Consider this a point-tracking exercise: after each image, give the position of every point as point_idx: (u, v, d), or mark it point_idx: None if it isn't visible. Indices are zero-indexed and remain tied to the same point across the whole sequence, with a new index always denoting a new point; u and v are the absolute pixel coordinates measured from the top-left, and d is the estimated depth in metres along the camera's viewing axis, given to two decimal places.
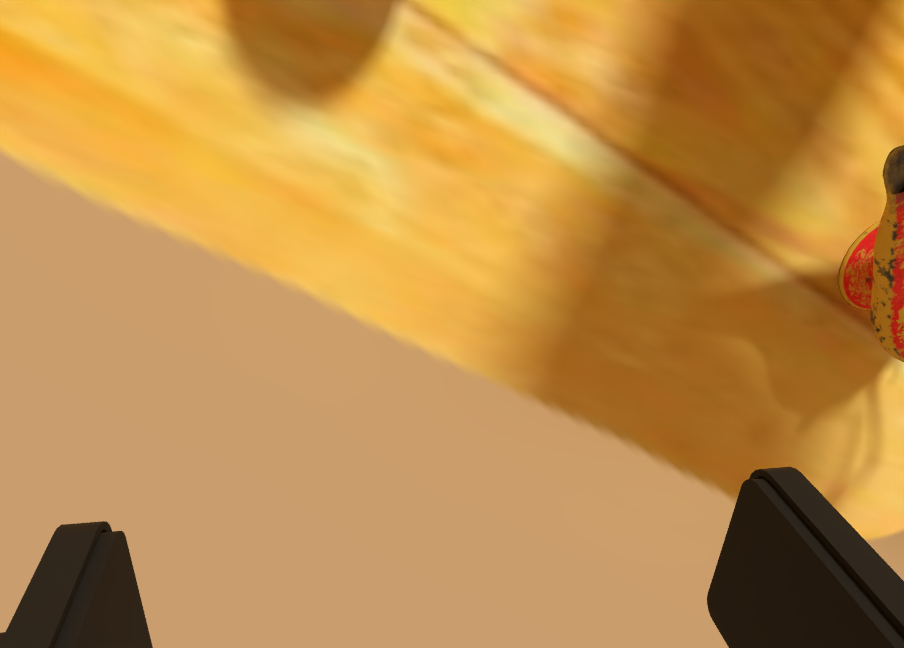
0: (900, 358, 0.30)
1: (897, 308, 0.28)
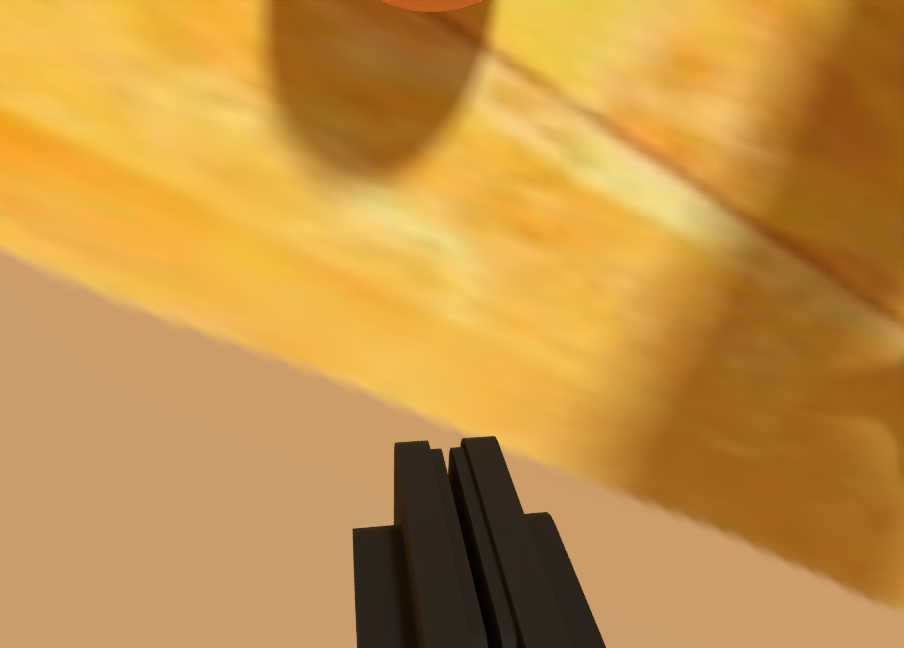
0: None
1: None
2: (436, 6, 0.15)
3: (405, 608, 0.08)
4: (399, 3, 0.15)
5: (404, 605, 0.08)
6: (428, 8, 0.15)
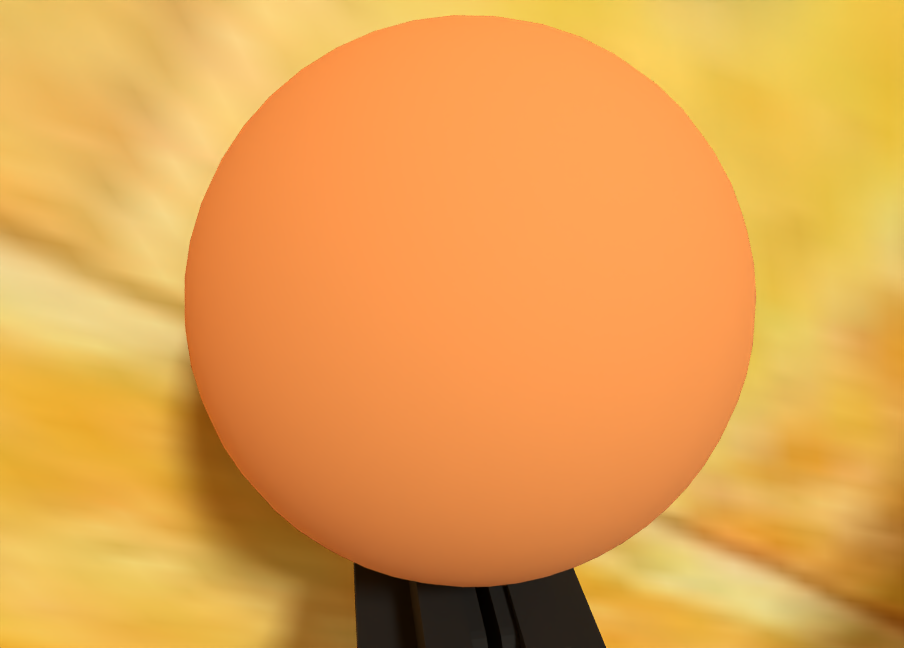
0: None
1: None
2: None
3: (405, 608, 0.08)
4: None
5: (404, 605, 0.08)
6: None
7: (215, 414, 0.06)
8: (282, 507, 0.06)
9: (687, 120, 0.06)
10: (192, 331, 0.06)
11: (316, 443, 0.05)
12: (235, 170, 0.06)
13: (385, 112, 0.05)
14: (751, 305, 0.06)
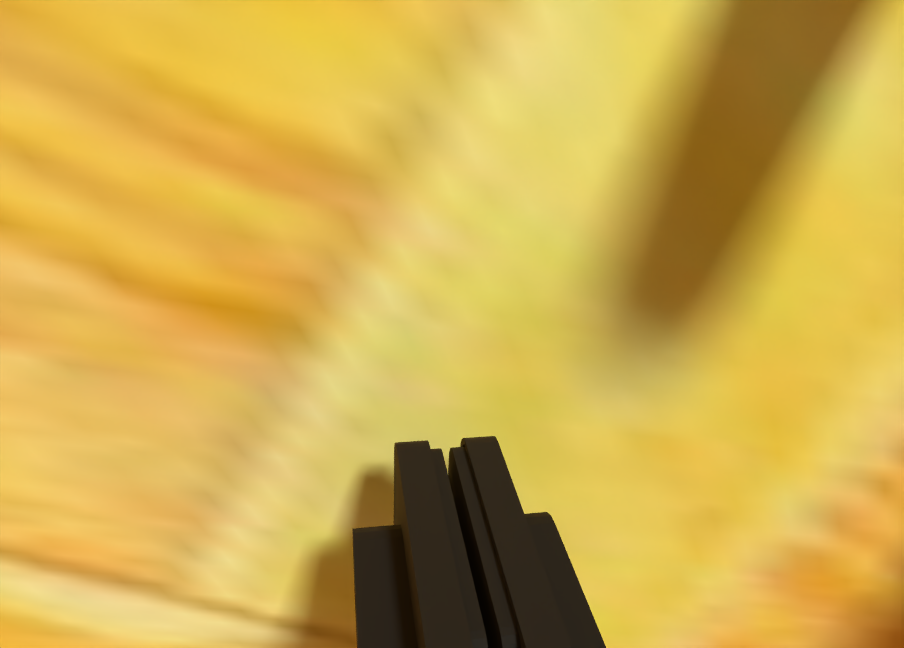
0: None
1: None
2: None
3: (405, 608, 0.08)
4: None
5: (404, 605, 0.08)
6: None
7: None
8: None
9: None
10: None
11: None
12: None
13: None
14: None
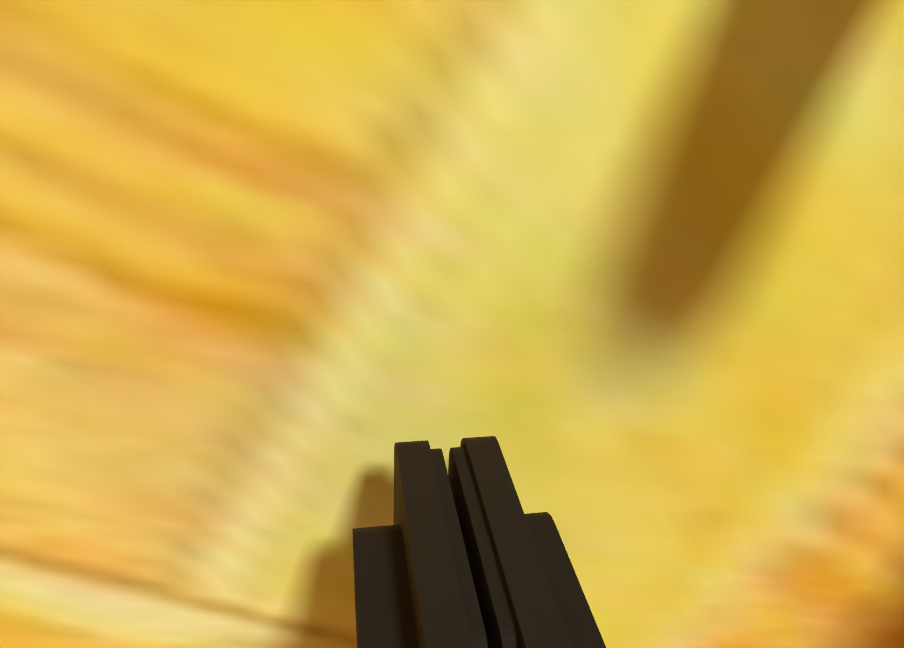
0: None
1: None
2: None
3: (405, 608, 0.08)
4: None
5: (404, 605, 0.08)
6: None
7: None
8: None
9: None
10: None
11: None
12: None
13: None
14: None
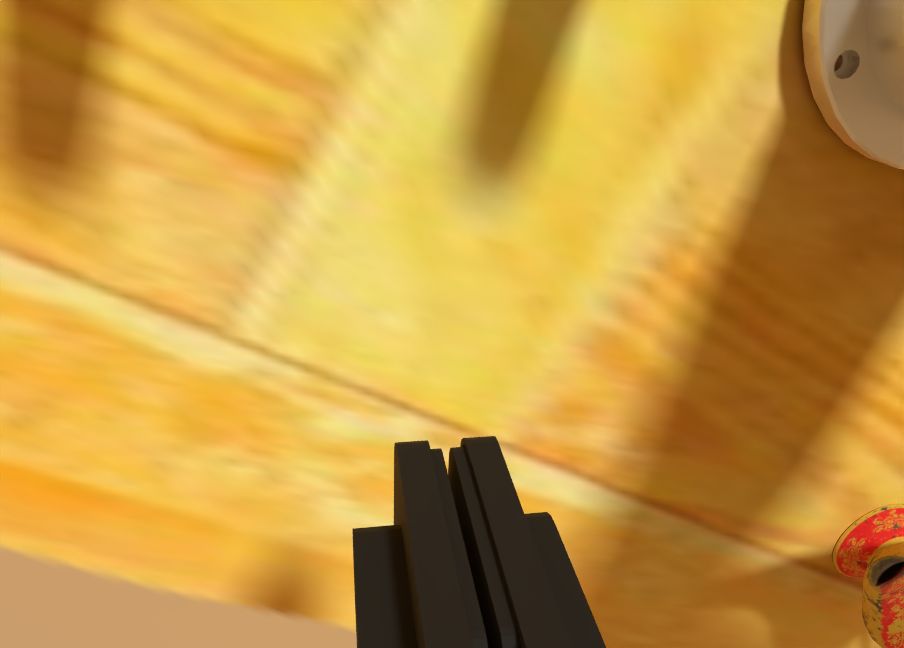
0: None
1: (887, 624, 0.31)
2: None
3: (405, 608, 0.08)
4: None
5: (404, 605, 0.08)
6: None
7: None
8: None
9: None
10: None
11: None
12: None
13: None
14: None
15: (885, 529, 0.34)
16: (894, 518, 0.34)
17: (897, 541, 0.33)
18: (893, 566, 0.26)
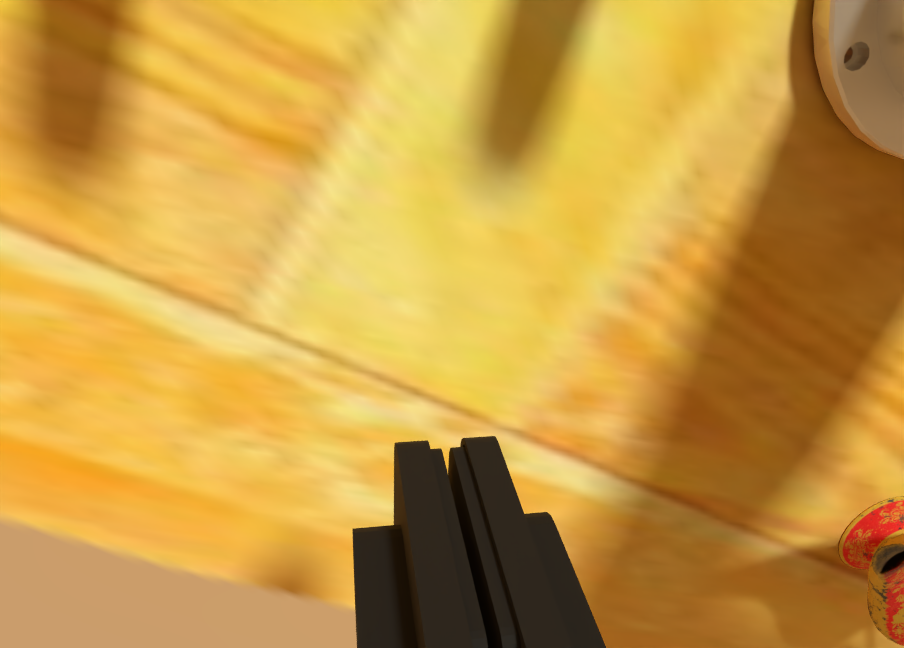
0: None
1: (891, 614, 0.31)
2: None
3: (405, 608, 0.08)
4: None
5: (404, 605, 0.08)
6: None
7: None
8: None
9: None
10: None
11: None
12: None
13: None
14: None
15: (891, 521, 0.34)
16: (901, 510, 0.34)
17: (903, 533, 0.34)
18: (898, 555, 0.27)
